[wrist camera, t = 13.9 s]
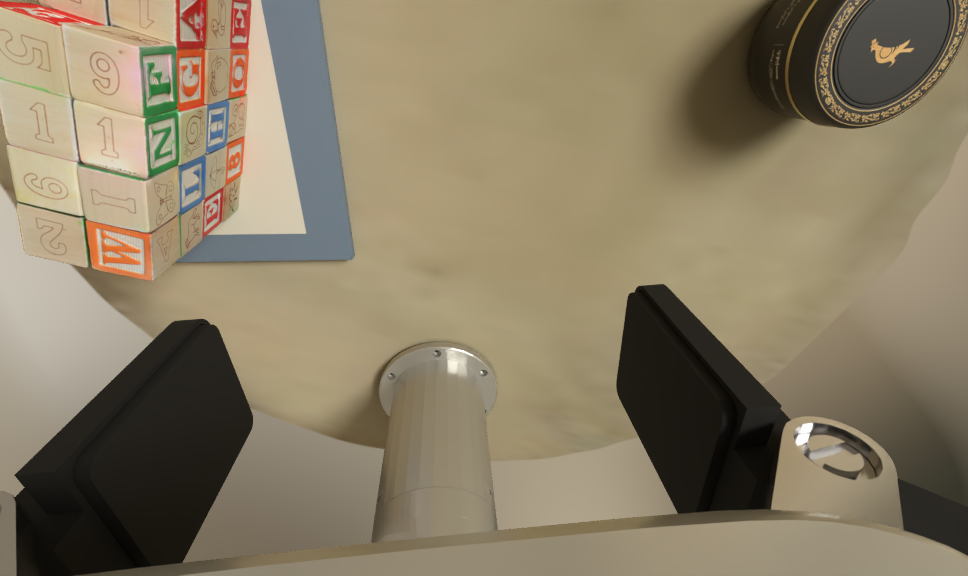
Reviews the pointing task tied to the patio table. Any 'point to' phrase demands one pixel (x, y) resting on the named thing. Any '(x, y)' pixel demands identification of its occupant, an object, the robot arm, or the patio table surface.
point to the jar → (853, 57)
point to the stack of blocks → (123, 126)
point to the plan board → (286, 148)
